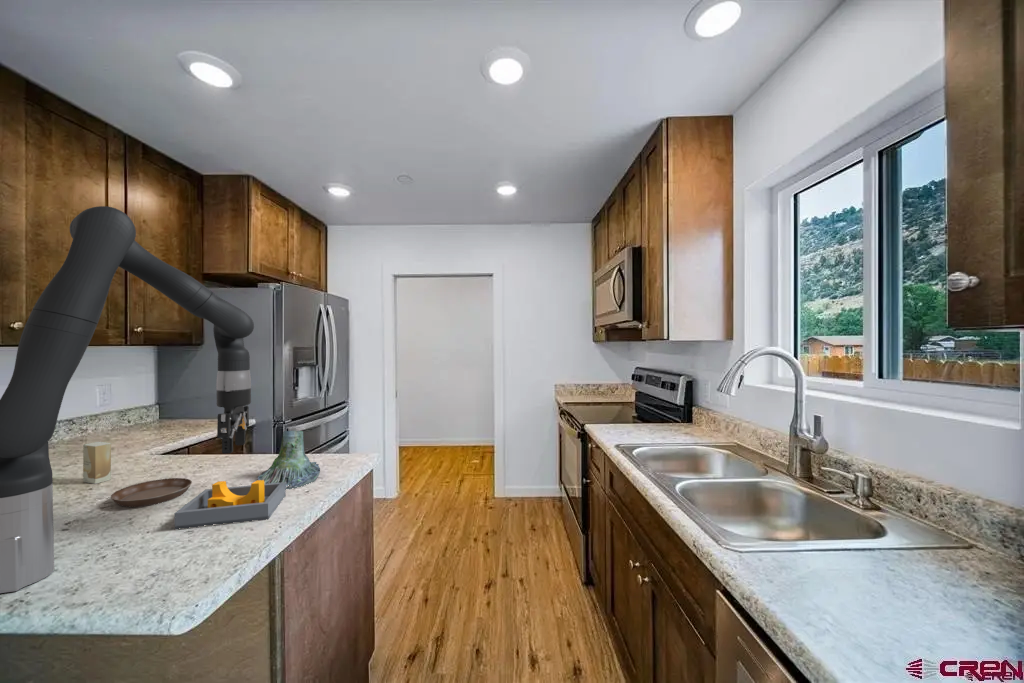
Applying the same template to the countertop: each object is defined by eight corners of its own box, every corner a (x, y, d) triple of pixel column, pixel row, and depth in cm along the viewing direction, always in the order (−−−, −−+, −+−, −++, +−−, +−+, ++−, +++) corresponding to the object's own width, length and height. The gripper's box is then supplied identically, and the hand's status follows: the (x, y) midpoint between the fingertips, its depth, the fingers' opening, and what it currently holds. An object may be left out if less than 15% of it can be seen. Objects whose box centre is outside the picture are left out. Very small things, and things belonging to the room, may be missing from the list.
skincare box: (82, 482, 132) (81, 444, 132) (99, 477, 136) (98, 441, 136) (95, 484, 130) (94, 445, 130) (112, 479, 134) (111, 442, 134)
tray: (268, 519, 103) (268, 503, 103) (174, 529, 98) (174, 513, 98) (285, 495, 119) (285, 482, 119) (205, 503, 113) (205, 489, 113)
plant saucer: (207, 487, 127) (207, 478, 126) (151, 512, 109) (151, 500, 109) (155, 486, 128) (155, 476, 128) (92, 510, 111) (91, 499, 111)
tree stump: (242, 495, 121) (245, 433, 125) (272, 487, 140) (274, 434, 144) (308, 488, 124) (309, 427, 128) (328, 481, 143) (329, 429, 147)
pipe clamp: (207, 512, 106) (207, 487, 106) (219, 505, 110) (218, 481, 110) (255, 510, 107) (254, 485, 107) (264, 503, 111) (264, 480, 111)
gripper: (228, 385, 114) (228, 443, 114) (205, 391, 100) (205, 457, 100) (259, 384, 116) (259, 441, 116) (239, 390, 102) (240, 455, 102)
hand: (234, 448), depth 108 cm, fingers open, 8 cm apart
